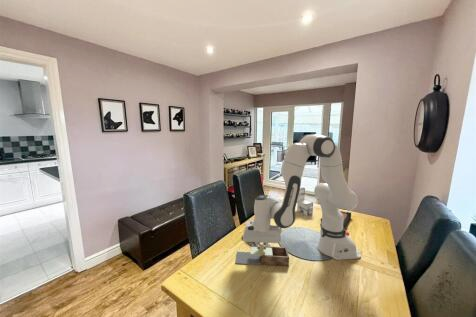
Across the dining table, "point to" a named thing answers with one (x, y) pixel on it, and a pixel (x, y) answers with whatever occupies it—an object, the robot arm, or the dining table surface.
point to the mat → (247, 258)
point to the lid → (261, 251)
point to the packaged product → (255, 244)
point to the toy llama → (304, 204)
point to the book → (346, 218)
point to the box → (276, 257)
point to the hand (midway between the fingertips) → (261, 248)
